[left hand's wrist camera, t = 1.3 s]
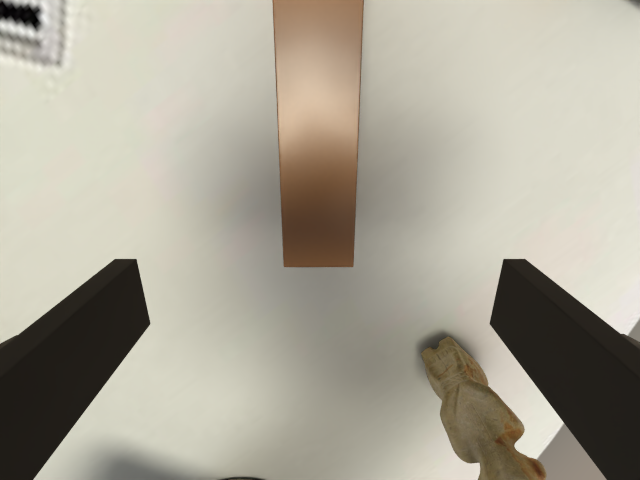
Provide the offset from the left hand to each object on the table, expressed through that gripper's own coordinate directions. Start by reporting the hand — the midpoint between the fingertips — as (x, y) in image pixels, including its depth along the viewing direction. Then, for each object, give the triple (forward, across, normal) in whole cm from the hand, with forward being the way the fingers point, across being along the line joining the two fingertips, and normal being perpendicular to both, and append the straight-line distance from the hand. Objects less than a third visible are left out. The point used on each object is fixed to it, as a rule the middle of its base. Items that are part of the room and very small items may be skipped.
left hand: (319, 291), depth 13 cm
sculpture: (+18, -13, +19) cm, 29 cm away
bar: (+18, 0, -8) cm, 20 cm away
